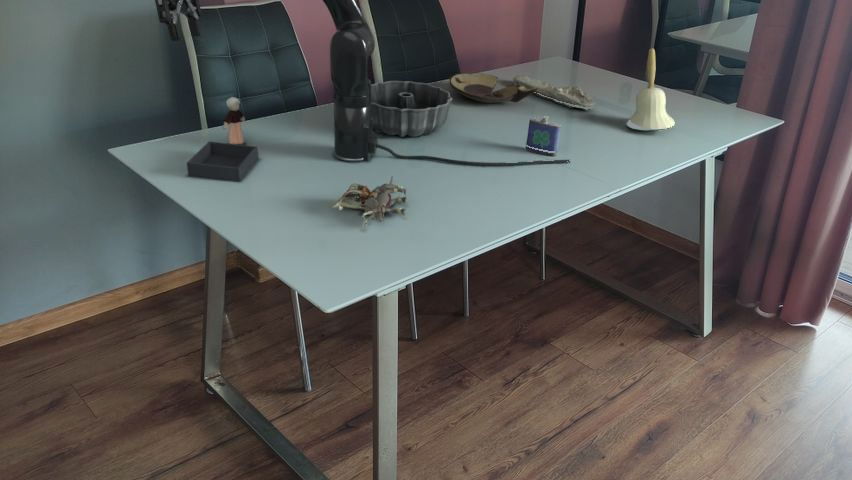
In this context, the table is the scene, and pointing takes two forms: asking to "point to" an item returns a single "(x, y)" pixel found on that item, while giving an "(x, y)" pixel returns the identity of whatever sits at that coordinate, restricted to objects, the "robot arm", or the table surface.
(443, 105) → the bundt pan
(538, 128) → the flask
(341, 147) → the robot arm
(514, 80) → the elongated rock
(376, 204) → the figurine
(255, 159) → the pan
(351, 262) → the table surface
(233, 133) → the grandmother figurine
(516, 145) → the table surface
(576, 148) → the table surface
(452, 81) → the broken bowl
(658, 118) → the handbell
